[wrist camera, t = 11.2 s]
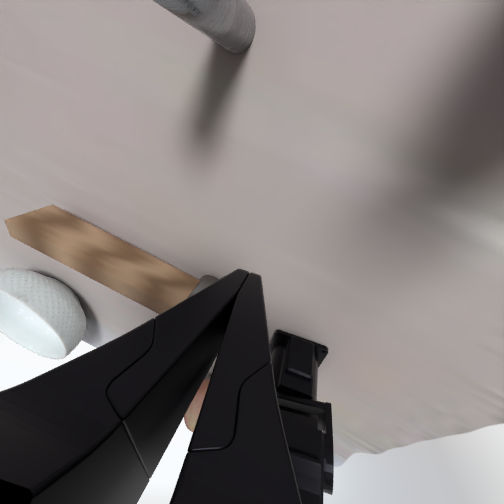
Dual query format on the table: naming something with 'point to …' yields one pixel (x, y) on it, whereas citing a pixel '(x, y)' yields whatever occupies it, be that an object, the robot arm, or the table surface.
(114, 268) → the brown long flat bar
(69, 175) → the table surface
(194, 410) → the apple
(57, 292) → the cereal bowl
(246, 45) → the post
